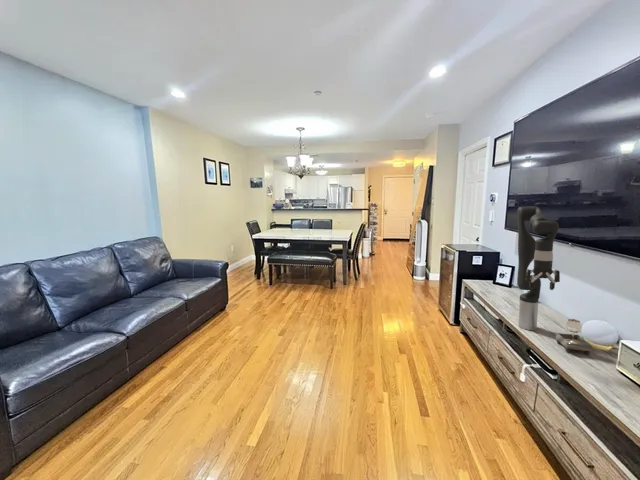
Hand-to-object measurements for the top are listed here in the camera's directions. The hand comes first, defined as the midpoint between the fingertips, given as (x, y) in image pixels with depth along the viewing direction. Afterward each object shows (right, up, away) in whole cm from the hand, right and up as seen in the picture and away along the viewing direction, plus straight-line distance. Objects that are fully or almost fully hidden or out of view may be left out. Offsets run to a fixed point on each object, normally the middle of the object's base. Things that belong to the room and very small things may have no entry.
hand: (541, 289), depth 146 cm
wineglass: (+17, -28, 0) cm, 33 cm away
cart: (+17, -32, +1) cm, 36 cm away
